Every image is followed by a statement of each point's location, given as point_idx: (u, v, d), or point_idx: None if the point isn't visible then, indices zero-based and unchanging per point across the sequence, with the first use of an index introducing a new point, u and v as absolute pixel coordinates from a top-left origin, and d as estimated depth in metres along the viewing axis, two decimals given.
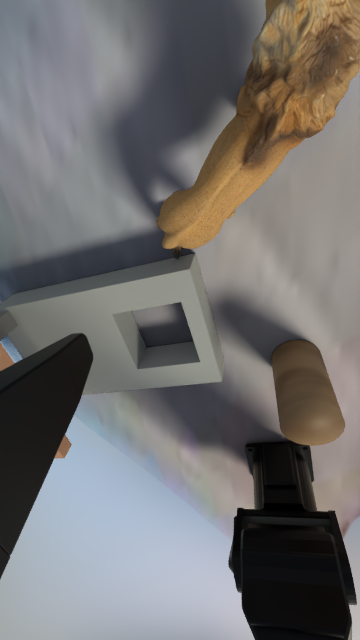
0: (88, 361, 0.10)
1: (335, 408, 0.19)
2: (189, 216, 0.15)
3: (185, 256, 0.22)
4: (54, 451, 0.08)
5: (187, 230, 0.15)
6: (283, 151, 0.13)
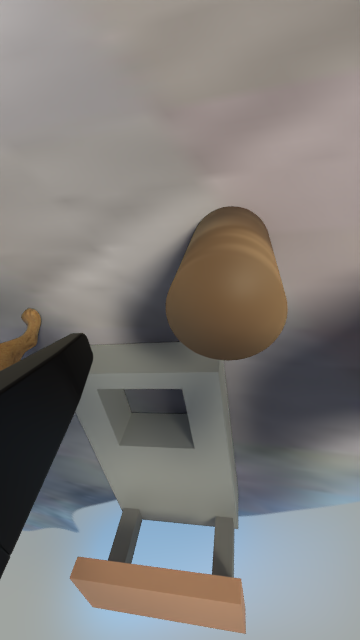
0: (88, 361, 0.10)
1: (180, 272, 0.10)
2: None
3: None
4: (54, 451, 0.08)
5: None
6: None
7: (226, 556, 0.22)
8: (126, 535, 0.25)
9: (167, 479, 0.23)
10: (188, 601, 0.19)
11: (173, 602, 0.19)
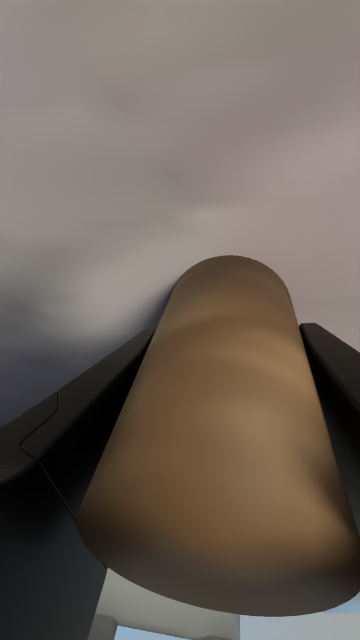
0: None
1: (101, 476, 0.04)
2: None
3: None
4: None
5: None
6: None
7: None
8: None
9: (145, 597, 0.17)
10: None
11: None
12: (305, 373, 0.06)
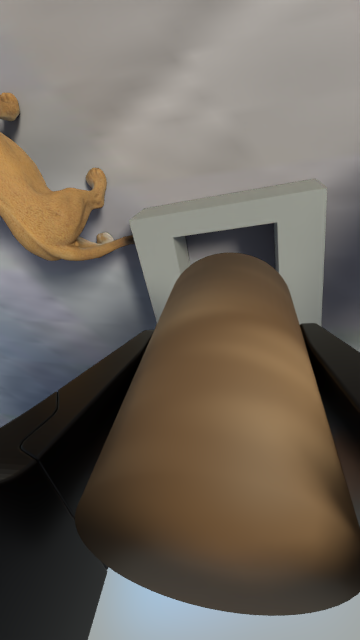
0: None
1: (100, 473, 0.04)
2: (19, 231, 0.14)
3: None
4: None
5: (32, 235, 0.14)
6: None
7: None
8: None
9: None
10: None
11: None
12: (306, 370, 0.06)
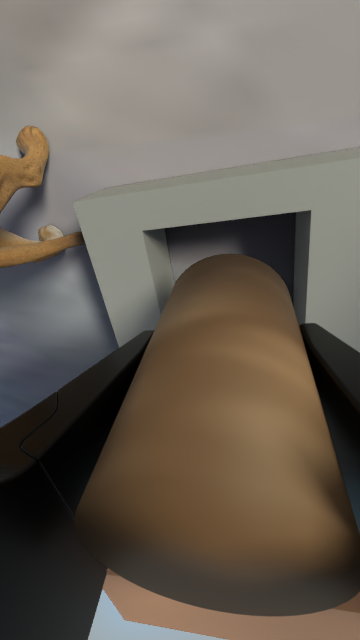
0: None
1: (100, 475, 0.04)
2: None
3: None
4: None
5: None
6: None
7: None
8: None
9: None
10: (313, 615, 0.10)
11: (281, 616, 0.10)
12: (305, 371, 0.06)
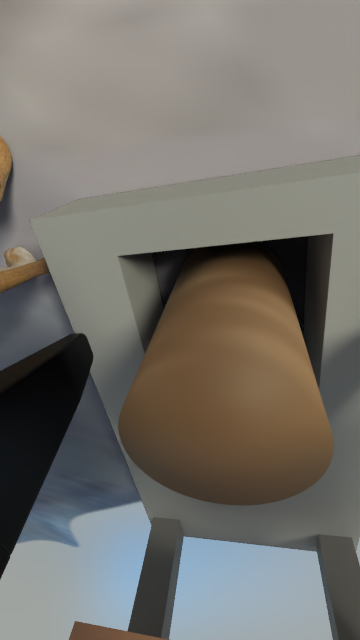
0: (88, 361, 0.10)
1: (140, 380, 0.06)
2: None
3: None
4: (55, 451, 0.08)
5: None
6: None
7: None
8: (162, 568, 0.14)
9: None
10: None
11: None
12: (292, 320, 0.07)
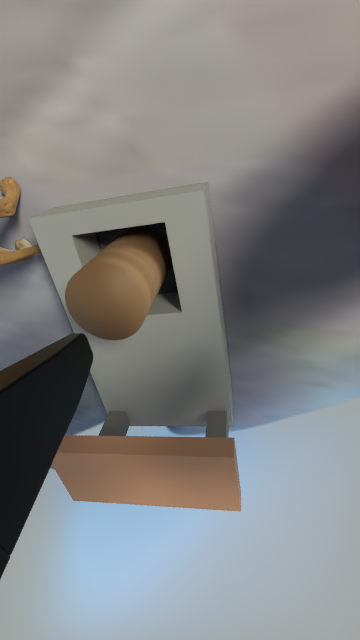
0: (88, 361, 0.10)
1: (71, 277, 0.14)
2: None
3: None
4: (55, 451, 0.08)
5: None
6: None
7: None
8: (111, 432, 0.23)
9: (154, 362, 0.21)
10: (175, 465, 0.17)
11: (160, 470, 0.17)
12: (146, 260, 0.16)
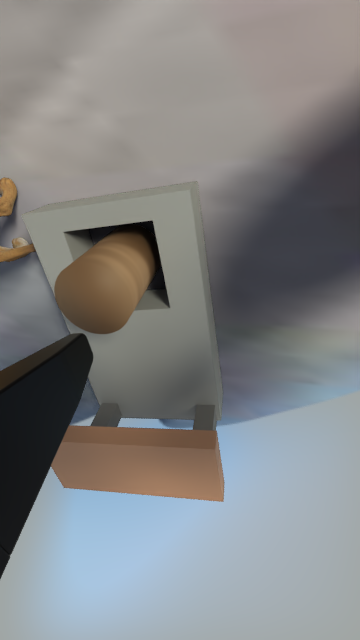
0: (88, 361, 0.10)
1: (60, 273, 0.15)
2: None
3: None
4: (54, 451, 0.08)
5: None
6: None
7: None
8: (102, 424, 0.23)
9: (144, 356, 0.22)
10: (160, 455, 0.17)
11: (145, 460, 0.18)
12: (134, 257, 0.16)
